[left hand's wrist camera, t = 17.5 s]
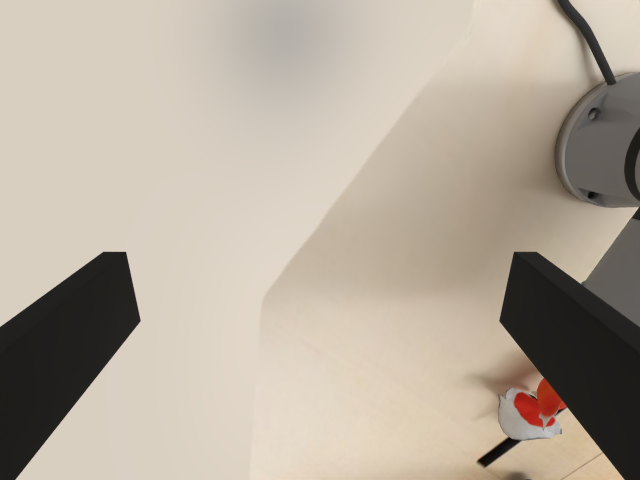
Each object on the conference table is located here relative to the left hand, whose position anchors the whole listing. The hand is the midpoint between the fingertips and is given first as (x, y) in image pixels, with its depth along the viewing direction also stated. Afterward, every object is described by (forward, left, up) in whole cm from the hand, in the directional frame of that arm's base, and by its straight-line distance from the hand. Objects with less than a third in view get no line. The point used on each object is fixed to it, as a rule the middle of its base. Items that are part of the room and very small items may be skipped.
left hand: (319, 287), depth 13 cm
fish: (+44, +22, -34) cm, 60 cm away
